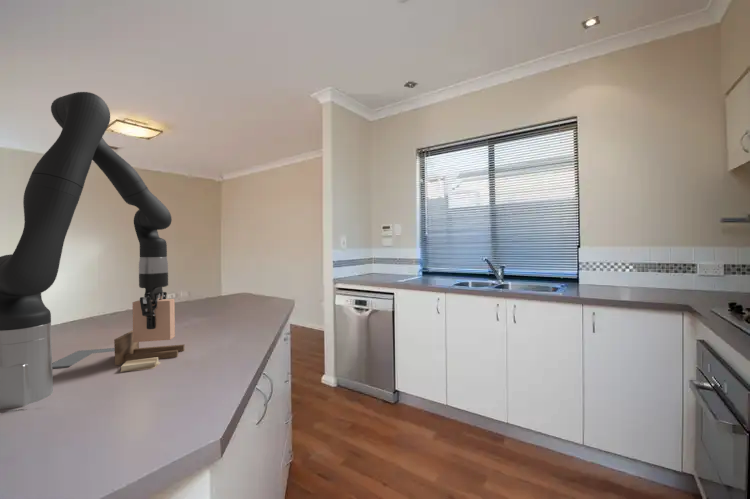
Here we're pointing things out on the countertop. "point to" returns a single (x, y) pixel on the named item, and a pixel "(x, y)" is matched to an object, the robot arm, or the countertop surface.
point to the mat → (77, 357)
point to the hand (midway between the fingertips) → (154, 326)
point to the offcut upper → (139, 364)
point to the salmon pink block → (163, 322)
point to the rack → (141, 350)
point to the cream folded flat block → (148, 368)
